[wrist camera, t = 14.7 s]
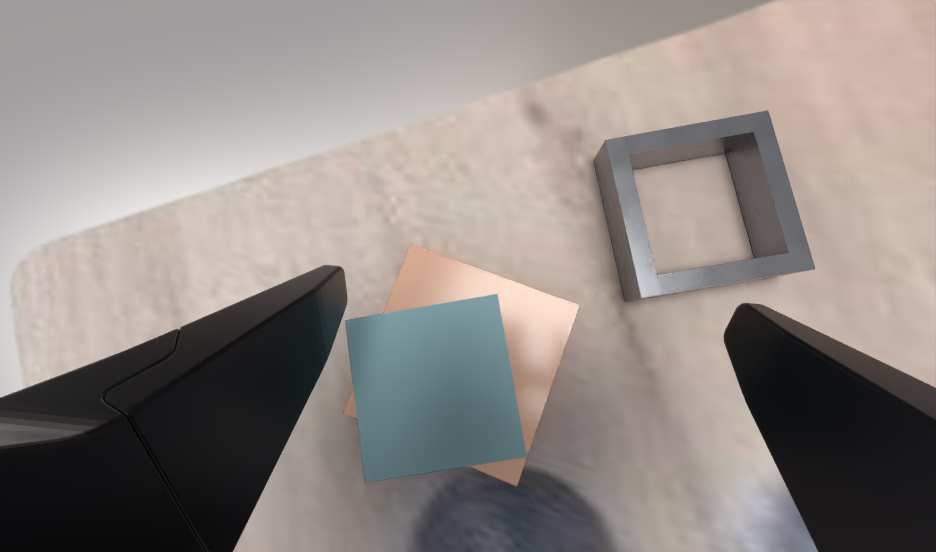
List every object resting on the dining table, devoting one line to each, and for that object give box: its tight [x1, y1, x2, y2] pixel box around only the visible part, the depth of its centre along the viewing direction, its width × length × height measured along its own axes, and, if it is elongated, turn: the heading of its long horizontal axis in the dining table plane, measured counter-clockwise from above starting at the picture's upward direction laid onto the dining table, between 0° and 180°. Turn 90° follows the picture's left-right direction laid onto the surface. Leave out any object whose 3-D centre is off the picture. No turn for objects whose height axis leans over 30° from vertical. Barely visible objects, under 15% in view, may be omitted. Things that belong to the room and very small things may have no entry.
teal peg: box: [345, 294, 527, 483], centre depth 16 cm, size 4×4×10 cm
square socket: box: [594, 111, 815, 301], centre depth 21 cm, size 8×8×2 cm
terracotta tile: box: [343, 244, 579, 486], centre depth 22 cm, size 10×10×1 cm
